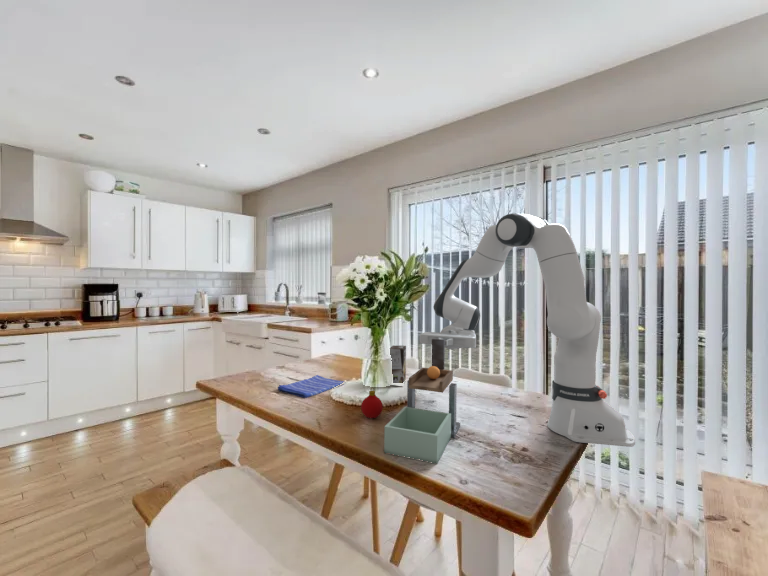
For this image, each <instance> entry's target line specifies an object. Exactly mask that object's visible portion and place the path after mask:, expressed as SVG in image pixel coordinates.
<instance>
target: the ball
mask: <svg viewBox="0 0 768 576" xmlns="http://www.w3.org/2000/svg"><path fill="white" fill-rule="evenodd" d="M427 368H428V370H427V375H428V377H429V378H431V379H437V378H438V377H439V375H440V370H439V369H438V368H437V367H436V366H431V365H430V366H429V367H427Z"/></svg>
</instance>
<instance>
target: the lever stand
mask: <svg viewBox="0 0 768 576" xmlns="http://www.w3.org/2000/svg"><path fill="white" fill-rule="evenodd" d="M406 385H407V387H406V388H407V389H406V390H407V393H406V394H407V398H406V407H411V408H416V389H411V388H409V379H408V380H407V384H406ZM457 386H458V385H457V383H453V382H451V383H450V384H449V385H448V413H451V439H455V438H456V436H457V434H458V432H459V430H460V428H461V422H460V421H459V422H457V389H458V388H457Z"/></svg>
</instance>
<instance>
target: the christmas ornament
mask: <svg viewBox="0 0 768 576" xmlns="http://www.w3.org/2000/svg"><path fill="white" fill-rule="evenodd" d="M383 406H384V405H383V402H382V400H381V399H380V398H379V397H378V396H376V391H375V388H374V387H371V388H370V390H369V391H368V396H367V397H365V398H364V399H363V401H362V403H361V404H360V408H361V409H360V410H361V412H362V413H361V414H363V415H364V416H365V417H366V418H368V419H377V418H378V417H380V415H381V414H382V412H383V408H384V407H383Z"/></svg>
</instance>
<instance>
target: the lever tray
mask: <svg viewBox="0 0 768 576" xmlns="http://www.w3.org/2000/svg"><path fill="white" fill-rule="evenodd" d="M445 351H446V348H445V340H443V339H432V344H431V361H430V362H431V365H430V367H431V366H436V367H437V368H438V369H439V370H440V375H439V377H438V378H437V379H431V378H429V377H428V375H427V370H428V368H429V367H421V368H420V369H419V370H417V371H416V372H415V373H414V374H412V375H411V376H409V378H408V380H409V388H411V389H415V390H418V391H429V392H434V393H435V392H437V393H441V394H443V393H444V391H445V390H446V389H447V388H448V387H449V385H450V384H451V383H453V379H454V377H453V376H454V374H453V373H454V370H451V369H445V359H446V358H445V353H446V352H445Z"/></svg>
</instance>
